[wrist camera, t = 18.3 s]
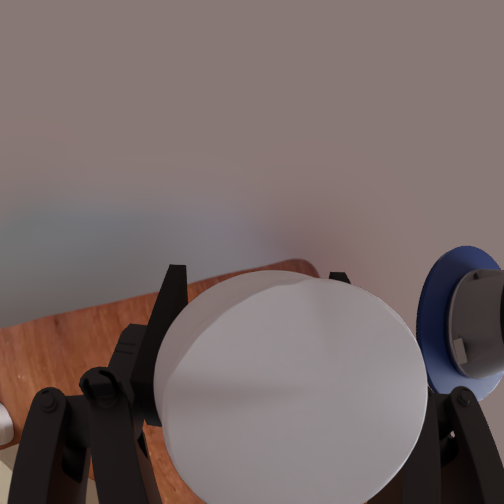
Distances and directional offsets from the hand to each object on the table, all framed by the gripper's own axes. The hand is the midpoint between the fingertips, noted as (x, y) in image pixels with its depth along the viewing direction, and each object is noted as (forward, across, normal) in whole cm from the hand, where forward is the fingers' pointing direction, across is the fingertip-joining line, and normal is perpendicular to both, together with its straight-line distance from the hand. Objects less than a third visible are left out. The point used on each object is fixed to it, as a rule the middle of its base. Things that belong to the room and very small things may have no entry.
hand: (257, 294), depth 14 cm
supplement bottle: (0, 0, +5) cm, 5 cm away
